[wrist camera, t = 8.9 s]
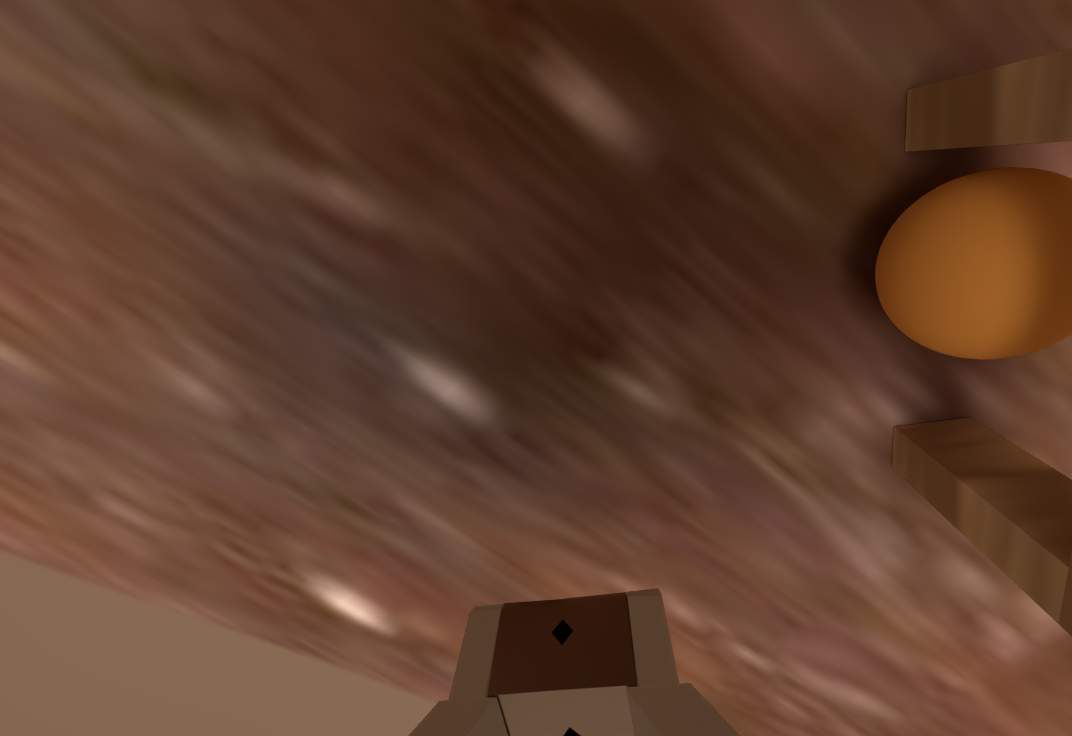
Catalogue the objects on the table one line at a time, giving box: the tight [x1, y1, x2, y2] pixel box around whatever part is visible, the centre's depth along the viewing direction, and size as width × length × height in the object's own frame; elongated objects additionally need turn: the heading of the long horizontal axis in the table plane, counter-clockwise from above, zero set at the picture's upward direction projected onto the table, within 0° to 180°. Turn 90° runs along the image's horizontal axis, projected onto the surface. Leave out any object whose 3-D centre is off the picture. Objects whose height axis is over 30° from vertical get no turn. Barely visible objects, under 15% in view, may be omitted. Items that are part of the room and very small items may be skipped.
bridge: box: [892, 48, 1072, 636], centre depth 16 cm, size 3×15×10 cm, turn 11°
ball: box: [875, 168, 1072, 359], centre depth 17 cm, size 6×6×6 cm
